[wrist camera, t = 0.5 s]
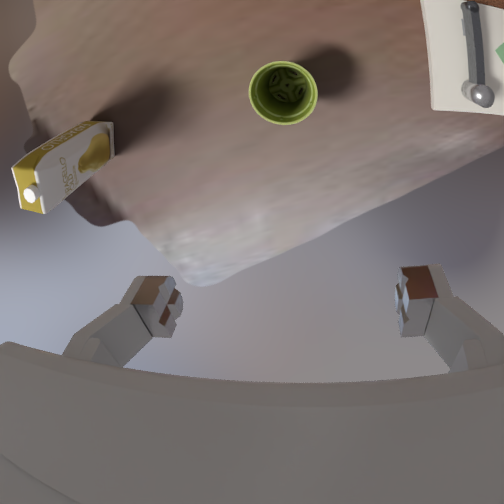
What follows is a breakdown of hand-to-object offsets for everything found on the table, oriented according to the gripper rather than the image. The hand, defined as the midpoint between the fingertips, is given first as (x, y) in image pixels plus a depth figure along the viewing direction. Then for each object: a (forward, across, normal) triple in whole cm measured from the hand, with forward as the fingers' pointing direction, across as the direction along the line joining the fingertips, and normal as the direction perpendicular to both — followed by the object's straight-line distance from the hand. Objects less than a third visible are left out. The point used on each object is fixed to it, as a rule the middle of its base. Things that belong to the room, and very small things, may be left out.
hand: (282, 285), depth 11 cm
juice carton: (+45, +40, +2) cm, 61 cm away
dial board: (+45, -30, -6) cm, 55 cm away
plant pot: (+45, +3, -1) cm, 45 cm away
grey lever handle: (+43, -28, -7) cm, 52 cm away
